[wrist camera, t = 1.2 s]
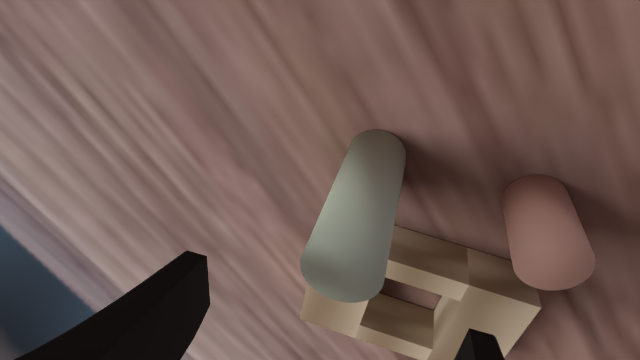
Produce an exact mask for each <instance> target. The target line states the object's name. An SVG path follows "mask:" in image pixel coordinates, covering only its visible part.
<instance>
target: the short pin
mask: <svg viewBox="0 0 640 360" xmlns="http://www.w3.org/2000/svg"><path fill="white" fill-rule="evenodd" d="M501 204H502V210H503V215H504V221H505V226H506V232H507V237H508V243H509V248H510V254H511V259H512V265H513V269H514V272H515V274H516V275H517V277H518V278H519V279H520V280H521V281H523V282H524V283H526V284H527V285H529V286H531V287H534V288H537V289H542V290H550V291H556V290H564V289H569V288H572V287H575V286H577V285H579V284H581V283H582V282H584V281H585V280H587V279H588V278H589V277H590V276H591V274H592V273H593V271H594V269H595V265H596V258H595V255H594V252H593V250H592V248H591V245H590V243H589V241H588V238H587V236H586V234H585V231H584V229H583V227H582V224H581V222H580V220H579V217H578V215H577V213H576V210H575V208H574V206H573V203H572V201H571V199H570V196H569V194H568V192H567V190H566V188H565V186H564V185H563V184H562V183H561V182H560V181H558V180H557V179H555V178H553V177H550V176H546V175H528V176H524V177H521V178H519V179H517V180H515V181H513V182H512V183H511V184H510V185H509V186H508V187H507V188H506V189H505V191H504V192H503V195H502V199H501Z"/></svg>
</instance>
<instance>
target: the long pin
mask: <svg viewBox="0 0 640 360" xmlns="http://www.w3.org/2000/svg"><path fill="white" fill-rule="evenodd" d="M405 163H406V151H405V148H404V146H403V144H402V142H401V141H400V140H399V139H398V138H397V137H396V136H395V135H393V134H391V133H389V132H387V131H384V130H377V129H374V130H368V131H365V132H362V133H360V134H359V135H358V136H356V137H355V138H354V140H353V141H352V143H351V145H350V147H349V149H348V151H347V154H346V156H345V158H344V161H343V163H342V165H341V168H340V170H339V172H338V174H337V177H336V179H335V181H334V184H333V186H332V188H331V190H330V193H329V195H328V197H327V200H326V202H325V204H324V207H323V209H322V211H321V213H320V216H319V218H318V220H317V223H316V225H315V227H314V230H313V232H312V234H311V236H310V239H309V241H308V243H307V246H306V248H305V250H304V253H303V255H302V258H301V270H302V273H303V276H304V277H305V279H306V281H307V282H308V283H309V284H310V286H311V287H312V288H314V289H315V290H316V291H317V292H319V293H320V294H322V295H324V296H326V297H328V298H330V299H333V300H336V301H340V302H346V303H357V302H363V301H366V300H369V299H371V298H373V297H374V296H376V295H377V294H378V293H379V292H380V290H381V289H382V287H383V284H384V280H385V274H386V269H387V263H388V258H389V252H390V247H391V241H392V235H393V230H394V224H395V219H396V213H397V208H398V202H399V197H400V191H401V185H402V180H403V174H404V169H405Z"/></svg>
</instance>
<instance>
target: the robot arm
mask: <svg viewBox="0 0 640 360" xmlns="http://www.w3.org/2000/svg"><path fill="white" fill-rule="evenodd" d="M209 306H210V296H209V282H208V268H207V256H204V255H201V254H197V253H193V252H190V251H186V252H184V253H182V254H181V255H180V256H178V257H177V258H175V259H174V260H173V261H171V262H170V263H168V264H167V265H166V266H164V267H163V268H162V269H160V270H159V271H157V272H156V273H155V274H153V275H152V276H150V277H149V278H148V279H146V280H145V281H143V282H142V283H141V284H139V285H138V286H136V287H135V288H133V289H132V290H130V291H129V292H128V293H126V294H125V295H123V296H122V297H120V298H119V299H117V300H116V301H114V302H113V303H111V304H110V305H108V306H107V307H105V308H104V309H102V310H100V311H99V312H97V313H96V314H94V315H92V316H91V317H89V318H88V319H86V320H85V321H83V322H81V323H80V324H78V325H76V326H75V327H73V328H71V329H70V330H68V331H66V332H65V333H63V334H61V335H59V336H58V337H56V338H54V339H52V340H51V341H49V342H47V343H45V344H43V345H41V346H39V347H38V348H36V349H34V350H32V351H30V352H28V353H26V354H24V355H22V356H20V357H18V358H16V359H14V360H180V359H181V358H182V356H183V355H184V353H185V351H186V350H187V348H188V347H189V345H190V343H191V342H192V340H193V339H194V337H195V335H196V333H197V331H198V329H199V327H200V325H201V323H202V321H203V318H204V316H205V314H206V312H207V310H208V308H209ZM454 360H505V359H504V357H503V354H502V351H501V349H500V346H499V344H498V341H497V339H496V337H495V336H494V335H492V334H488V333H485V332H481V331H478V330H474V329H470V328H469V330H468V332H467V334H466V336H465V338H464V340H463V342H462V344H461V346H460V348H459V350H458V352H457V354H456V356H455V359H454Z"/></svg>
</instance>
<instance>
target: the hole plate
mask: <svg viewBox="0 0 640 360" xmlns="http://www.w3.org/2000/svg"><path fill="white" fill-rule="evenodd" d="M385 277H386V278H389V279H392V280H395V281H398V282H401V283H404V284H407V285H411V286H414V287H417V288H420V289H423V290H426V291H429V292H432V293H435V294H439V295H442V297H441V299H440V301H439V303H438V304H437V306H436V308H435V310H434V311H433V310H430V309H426V308H423V307H420V306H417V305H414V304H411V303H408V302H405V301H402V300H399V299H396V298H393V297H390V296H387V295H384V294H380V293H378V294H377V295H376V296H374V297H373V298H371V299H369V300H366V301H363V302H357V303H346V302H340V301H336V300H333V299H330V298H328V297H326V296H324V295H322V294H320V293H319V292H317V291H316V290H315V289H314V288H312V287H311V286H310V284H309V283H307V288H306V292H305V296H304V301H303V305H302V309H301V314H300V318H299V319H301V320H304V321H307V322H310V323H313V324H316V325H319V326H322V327H325V328H328V329H331V330H334V331H336V332H339V333H342V334H345V335H348V336H351V337H354V338H357V339H360V340H363V341H366V342H369V343H372V344H375V345H377V346H380V347H383V348H386V349H389V350H392V351H395V352H398V353H401V354H404V355H407V356H410V357H413V358H415V359H418V360H454V359H455V356H456V354H457V352H458V350H459V348H460V346H461V344H462V342H463V340H464V338H465V336H466V334H467V332H468V330H469V328H470V329H474V330H478V331H481V332H485V333H488V334H492V335H494V336H495V337H496V339H497V341H498V344H499V346H500V349H501V351H502V354H503V357H505V356H506V355H507V353H508V352H509V351H510V349H511V348H512V347H513V345H514V344H515V343H516V341H517V340H518V339H519V337H520V336H521V335H522V333H523V332H524V331H525V329H526V328H527V327H528V325H529V324H530V323H531V321H532V320H533V319H534V317H535V316H536V315H537V313H538V312H539V311H540V309H541V304H540V300H539V295H538V291H537V288H534V287H531V286H529V285H527V284H526V283H524V282H523V281H521V280H520V279H519V278H518V277H517V275H516V274H515V272H514V269H513V265H512V261H510V260H506V259H503V258H500V257H496V256H493V255H490V254H487V253H483V252H480V251H477V250H473V249H470V248H467V247H464V246H460V245H457V244H454V243H451V242H447V241H444V240H441V239H437V238H434V237H431V236H428V235H424V234H421V233H418V232H414V231H411V230H408V229H405V228H401V227H398V226H395V225H394V230H393V235H392V241H391V247H390V252H389V258H388V263H387V269H386V274H385Z"/></svg>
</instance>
